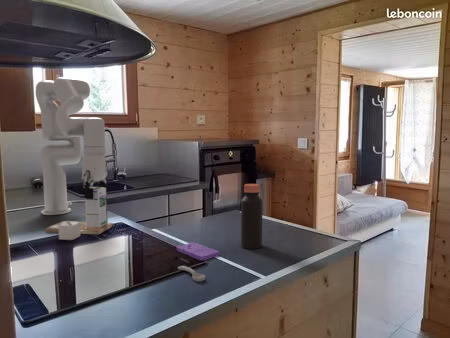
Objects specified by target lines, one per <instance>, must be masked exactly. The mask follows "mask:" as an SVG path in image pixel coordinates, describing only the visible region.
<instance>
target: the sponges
mask: <svg viewBox="0 0 450 338" xmlns="http://www.w3.org/2000/svg"><path fill="white" fill-rule="evenodd" d="M176 251H177V252H179V253H182V254H184V255H187V256H189V257H191V258H194V259H196V260H199V261H203V262H204V261H206V260H208V259H209V260H210V259H211V258H215V257H217V256H220V251H218V250H216V249H214V248H209V247H207V246H206V245H202V244H200V243H197V242H194V241H192V242H189V243H185V244H183V245H178V246H176Z"/></svg>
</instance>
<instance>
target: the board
mask: <svg viewBox="0 0 450 338" xmlns="http://www.w3.org/2000/svg"><path fill="white" fill-rule="evenodd" d="M66 222H78V221H76V220H75V221H74V220H73V221H70V220H62V221H61V222H60V221H59V222H57V223H55V224H52V225H50V226H48V227H47V228H45V230H44V231H45V233H52V234H53V233H57V234H59V227H58V225H61V224H63V223H66ZM79 222H80V235H81V234H83V235H100V234H102V233H104V232H106V231H107V230H109V229H111V228H113V227H114V222H108V224H106V225H104V226H102V227H101V228H93V227H87V225H86V221H79ZM112 226H113V227H112Z"/></svg>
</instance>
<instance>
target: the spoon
mask: <svg viewBox="0 0 450 338" xmlns="http://www.w3.org/2000/svg"><path fill="white" fill-rule="evenodd" d="M177 270H179V271H185V272H188V273H190V274H192V276H191V277H192V280H194V281H195V282H197V283H198V282H199V283H200V282H201V283H202V282H203V281H205V280H206V275H205V274H203V273H199V272H197V271H195V270H194V269H193V268H191V267H189V266H186V265H180V266H177Z"/></svg>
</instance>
